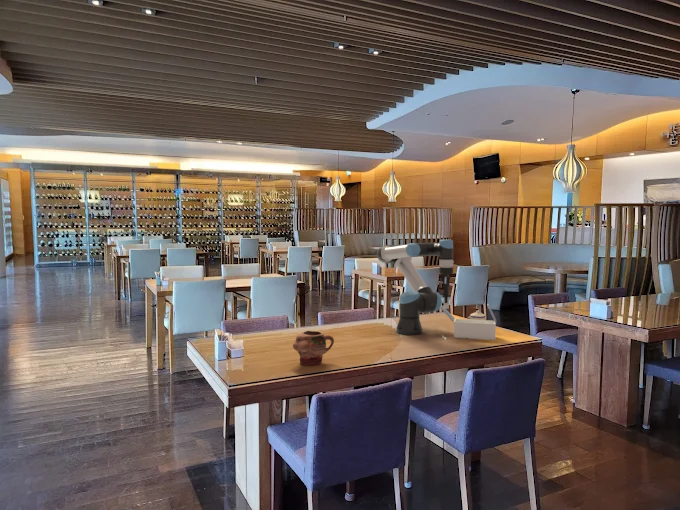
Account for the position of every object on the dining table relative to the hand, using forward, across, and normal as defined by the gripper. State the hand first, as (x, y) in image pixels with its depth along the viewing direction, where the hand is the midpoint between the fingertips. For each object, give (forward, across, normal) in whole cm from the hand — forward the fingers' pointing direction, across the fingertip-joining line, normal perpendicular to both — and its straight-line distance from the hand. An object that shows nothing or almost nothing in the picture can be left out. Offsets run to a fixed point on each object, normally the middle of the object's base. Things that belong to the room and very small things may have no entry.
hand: (446, 308), depth 271 cm
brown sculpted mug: (+15, -72, +54) cm, 91 cm away
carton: (+16, 0, -16) cm, 22 cm away
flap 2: (+2, 0, -24) cm, 25 cm away
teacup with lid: (+16, +20, -16) cm, 30 cm away
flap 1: (+3, 0, -1) cm, 3 cm away
